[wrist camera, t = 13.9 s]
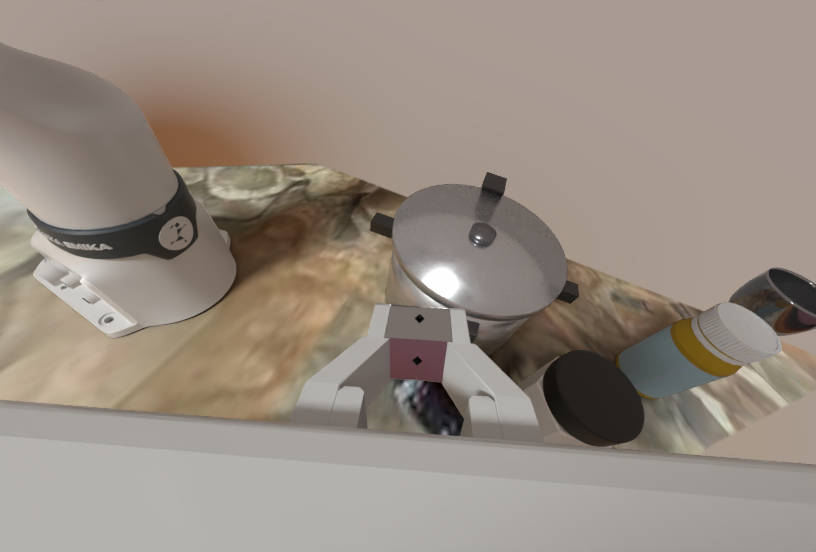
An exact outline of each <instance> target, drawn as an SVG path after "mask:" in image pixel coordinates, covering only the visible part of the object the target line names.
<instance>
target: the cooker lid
mask: <svg viewBox="0 0 816 552" xmlns="http://www.w3.org/2000/svg"><path fill="white" fill-rule="evenodd" d="M506 180H507V179H506V178H503V177H500V176H497V175H494V174H491V173H489V172H487V174H486V176H485V179H484V181H483V184H482V187H481V188H479V187H475V186H469V185H460V184H445V185H436V186H431V187H428V188H425V189H422V190H420V191H417V192H415V193H414V194H412V195H411V196H409V197H408V198H407V199H406V200H405V201H404V202H403V203H402V204H401V205H400V207H399V208H398V210H397V212H396V215H395V218H394V222H393V228H392V246H393V250H394V253H395V257H396V259H397V261H398V263H399V265H400V267H401V268H402V270H403V271H404V273H405V274H406V276H407V277H408V278H409V279H410V280H411V281H412V283H413V284H414V285H415V286H416V287H418V288H419V289H420V290H421V291H422V292H423V293H424V294H426V295H427V296H428V297H430V298H431V299H433V300H434V301H436V302H437V303H439V304H441V305H443V306H444V307H446V308H464V309H465V311H466V316H469V317H472V318H477V319H481V320H487V321H498V322H502V321H515V320H521V319H525V318H528V317H531V316H534V315H535V314H537V313H539V312H541V311H542V310H544V309H545V308H546V307H547V306H548V305H550V304H551V303H552V302H553V301H554V300H555V299H556V298H557V296H558V295H559V294H560V293H561V291H562V289H563V287H564V285H565V283H566V279H567V261H566V257H565V254H564V251H563V249H562V247H561V245H560V243H559V241H558V240H557V238H556V236H555V235H554V234H553V233H552V231H551V230H550V229H549V227H548V226H546V224H545V223H544V222H543V221H542V220H540V218H538V217H537V216H536V215H535V214H534V213H532V212H531V211H530V210H528V209H527V208H525V207H524V206H522V205H521V204H519V203H517V202H515V201H514V200H512V199H510V198H508V197H505V196H503V194H504V190H505V185H506Z"/></svg>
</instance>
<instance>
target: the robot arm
mask: <svg viewBox="0 0 816 552" xmlns="http://www.w3.org/2000/svg"><path fill="white" fill-rule="evenodd" d="M0 185H1V186H2V187H3V188H4V189H6V190H7V191H8V192H9V193H10V194H11V195H13V196H14V197H15V198H16V199H17V200H18V201H19V202H20V203H21V204H23V205H24V206H25V207H26V208H27V212H28V215H29V217H30V218H31V220H32V222H33V224H34V226H35V227H36V228H37V231H36V232H35V233H34V235H33V237H32V239H31V246H32V247H33V248H34V249H36V250H37V251H38V252H39V253H40V254H42V255H43V256H44V257H45V258H44V260H43V261H42V262H41V263H40V264H39V265H38V267H37V268H36V270H35V271H34V273H33V275H34V277H35V278H36V279H37V280H38V281H39V282H40V283H42V284H43V285H44V286H45V287H46V288H48V289H49V290H50V291H51V292H53V293H54V294H55V295H56V296H58V297H59V298H60V299H62V300H63V301H64V302H65V303H67V304H68V305H69V306H70V307H72V308H73V309H74V310H75V311H77V312H78V313H79V314H80V315H82V316H83V317H84V318H85V319H87V320H88V321H89V322H90V323H92V324H93V325H94V326H95V327H97V328H98V329H99V330H100V331H102V332H103V333H104V334H105V335H107V336H109V337H112V338H116V337H121V336H124V335H127V334H130V333H132V332H135V331H137V330H140V329H142V328H144V327H149V326H155V325H162V324H169V323H174V322H178V321H181V320H184V319H187V318H190V317H192V316H195V315H197V314H199V313H201V312H203V311H205V310H206V309H208V308H209V307H211V306H212V305H214V304H215V303H216V302H217V301H219V300H220V299H221V298H222V297H223V296H224V295H225V294H226V292H227V291H228V290H229V288H230V287H231V285H232V284H233V281H234V279H235V276H236V262H235V259H234V257H233V256H232V254H231V252H230V243H231V238H230V236H229V235H228V233H227V232H226V231H224V230H220V229H218V228H217V226H216V224H215V223H214V221H213V220H212V218H211V216H210V215H209V213H208V212H207V210H206V208H205V207H204V205H203V204H202V203H201V202H200V201H199V200H195V199H193V197H192V194H191V191H190V189H189V188H188V186H187V185H186V183H185V182H184V181H183V179H182V177H181V176H180V175H179V173H177V172H176V171H175V170H174V169H172V167H171V166H170V164H169V162H168V160H167V158H166V156H165V154H164V152H163V150H162V148H161V147H160V145H159V143H158V141H157V139H156V137H155V135H154V133H153V131H152V129H151V127H150V126H149V124H148V122H147V120H146V118H145V116H144V114H143V112H142V111H141V109H140V108H139V107H138V105H137V104H136V103H135V102H134V101H133V100H132V99H131V98H130V97H129V96H128V95H127V94H126V93H125V92H123V91H122V90H121V89H120V88H118V87H117V86H115V85H114V84H112V83H111V82H109V81H107V80H105V79H103V78H101V77H99V76H97V75H95V74H93V73H91V72H88V71H86V70H83V69H81V68H78V67H75V66H72V65H69V64H66V63H63V62H59V61H56V60H52V59H48V58H45V57H41V56H38V55H34V54H31V53H28V52H24V51H22V50H18V49H16V48H13V47H10V46H8V45H5V44H3V43H1V42H0ZM111 320H113V321H112V322H110V321H111ZM109 322H110V323H109ZM390 379H410V380H423V381H433V382H442V385H443V386H444V388H445V389H446V391H447V393H448V394H449V396H450V397H451V399H452V400H453V402H454V404H455V405H456V407H457V408H458V410H459V412H460V413H461V415H462V416H463V418H464V422H463V426H462V431H461V435H460V436H448V435H435V434H423V433H411V432H398V431H386V430H373V429H367V418H366V410H367V408H368V407H369V406H370V405H371V403H372V402H373V401H374V400H375V398H376V397H377V396H378V395H379V393H380V392H381V391H382V390H383V389H384V387H385V386H386V385H387V384H388V382H389V381H390ZM0 552H816V465H813V464H801V463H788V462H776V461H764V460H751V459H739V458H726V457H713V456H701V455H688V454H676V453H663V452H651V451H638V450H626V449H613V448H601V447H588V446H576V445H563V444H550V443H545V442H544V439H543V436H542V433H541V430H540V427H539V424H538V421H537V418H536V415H535V411H534V408H533V405H532V402H531V399H530V398H529V397H528V396H527V395H526V394H525V393H524V392H523V391H522V390H521V389H520V388H519V387H518V386H517V385H516V384H515V383H514V382H513V381H512V380H511V379H510V378H509V377H508V376H507V375H506V374H505V373H504V372H503V371H502V370H501V369H500V368H499V367H498V366H497V365H496V364H495V363H494V362H493V361H492V360H491V359H490V358H489V357H488V356H487V355H486V354H485V353H484V352H483V351H482V350H481V349H480V348H479V347H478V346H477V345H476V344H471V342H470V336H469V330H468V323H467V317H466V311H465V309H464V308H435V307H420V306H408V305H396V304H381V303H377V304H376V305H375V308H374V312H373V316H372V320H371V323H370V327H369V331H368V335H367V337H362V338H360V339H359V340H358V341H357V342H355V343H354V344H353V345H352V346H350V347H349V348H348V349H347V350H345V351H344V352H343V353H342V354H340V355H339V356H338V357H337V358H335V359H334V360H333V361H332V362H330V363H329V364H328V365H327V366H325V367H324V368H323V369H322V370H320V371H319V372H318V373H317V374H315V375H314V376H313V377H312V378H310V379H309V380H308V381H307V382H306V383H305V386H304V388H303V390H302V393H301V395H300V397H299V400H298V402H297V404H296V407H295V409H294V411H293V413H292V416H291V418H290V420H289V423H286V422H273V421H261V420H248V419H235V418H223V417H210V416H198V415H185V414H173V413H160V412H148V411H135V410H122V409H110V408H97V407H85V406H72V405H60V404H47V403H34V402H22V401H9V400H0Z"/></svg>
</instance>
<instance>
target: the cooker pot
mask: <svg viewBox="0 0 816 552" xmlns="http://www.w3.org/2000/svg"><path fill="white" fill-rule="evenodd" d="M393 222H394V218H391V217H388V216H386V215H383V214H380V213H376V215H375V216H374V218H373V219H372V221H371V227H370V231H372V232H375V233H378V234H381V235H383V236H386V237H389V238H392V228H393ZM578 297H579V292H578V284H575V283H573V282H570V281H567V280H566V283H565V285H564V287H563V289H562V291H561V293H560V294H559V295H558V296H557V299H559V300H562V301H565V302H568V303H570V304H571V303H572V302H573V301H574V300H575V299H577V298H578ZM385 301H386V304H396V305H408V306H420V307H435V308H446V307H444V306H443V305H441V304H439V303H437V302H436V301H434V300H433V299H431V298H430V297H428V296H427V295H426V294H424V293H423V292H422V291H421V290H420V289H419V288H418V287H416V286H415V285H414V284H413V283H412V281H411V280H410V279H409V278H408V277H407V276H406V274H405V273H404V271H403V270H402V268H401V267H400V265H399V263H398V261H397V259H396V257H395V253H394V250H393V252H392V257H391V263H390V268H389V274H388V279H387V285H386V291H385ZM466 317H467V323H468V330H469V336H470V342H471V344H476V345H477V346H478V347H479V348H480V349H481V350H482V351H483V352H484V353H485V354H486V355H487V356H489V355H491V354H492V353H494V352H495V351H496V350H497V349H499V348H500V347H501V346H502V345H503V344H504V343H505V342H506V341H507V340H508V339H509V338H510V337H511V336H512V335H513V334H514V333H515V332H516V331H517V330H518V329H519V328H520V327H521V326H522V325H523V324H524V323H525V322H526V321H527V320H528V319H529V318H530V317H528V318H525V319H521V320H515V321H502V322H498V321H487V320H481V319H477V318H472V317H469V316H466Z"/></svg>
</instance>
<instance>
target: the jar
mask: <svg viewBox="0 0 816 552" xmlns="http://www.w3.org/2000/svg"><path fill="white" fill-rule="evenodd" d="M517 386H518V387H519V388H520V389H521V390H522V391H523V392H524V393H525V394H526V395H527V396H528V397H529V398H530V399H531V402H532V405H533V408H534V411H535V415H536V418H537V421H538V424H539V427H540V430H541V433H542V436H543V439H544V442H545V443H550V444H563V445H576V446H588V447H601V448H611V447H612V445H617V444H621V443H626V442H629V441H632V440H633V439H635V438H636V437H637V436H638V435H639V434H640V432H641V431H642V428H643V425H644V409H643V405H642V402H641V399H640V396H639V394H638V392H637V390H636V388H635V387H634V385H633V384H632V382H631V381H630V380H629V378H628V377H627V376H626V375H625V374H624V373H623V371H622V370H621V369H619V368H618V367H617V366H616V365H615V364H614V363H612V362H611V361H609V360H608V359H606V358H605V357H603V356H601V355H599V354H596V353H594V352H590V351H585V350H575V351H571V352H568V353H566V354H564V355H562V356H558V357H556V358H555V359H553V360H552V361H550V362H549V363H548V364H546V365H545V366H543V367H542V368H540V369H539V370H537V371H536V372H534V373H533V374H532V375H530V376H529V377H527V378H526V379H524V380H523V381H521V382H520V383H519V384H518V385H517Z"/></svg>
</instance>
